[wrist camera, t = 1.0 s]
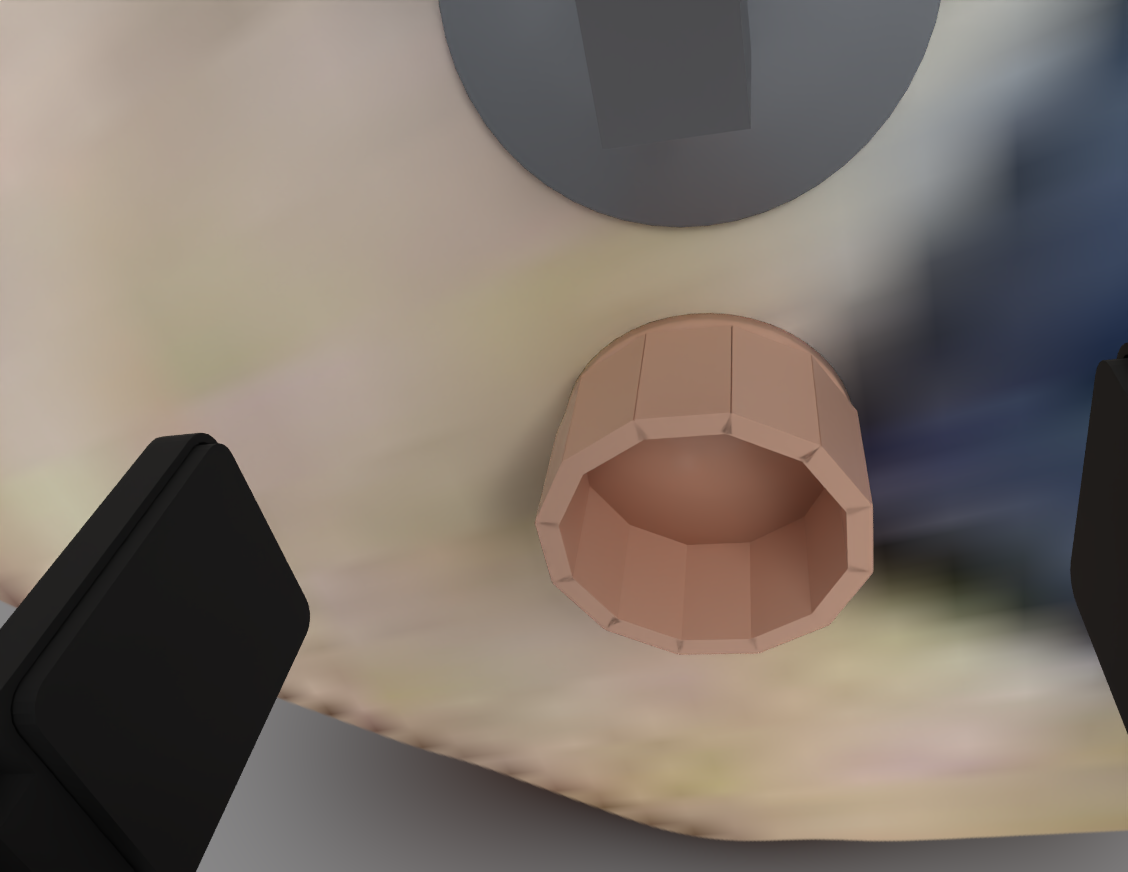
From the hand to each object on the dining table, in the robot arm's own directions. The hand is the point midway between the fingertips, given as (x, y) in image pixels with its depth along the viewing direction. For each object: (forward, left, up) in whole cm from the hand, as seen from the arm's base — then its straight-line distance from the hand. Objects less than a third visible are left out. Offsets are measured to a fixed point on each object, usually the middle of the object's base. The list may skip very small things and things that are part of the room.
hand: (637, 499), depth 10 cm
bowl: (+16, -1, -21) cm, 27 cm away
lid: (0, 0, -22) cm, 22 cm away
